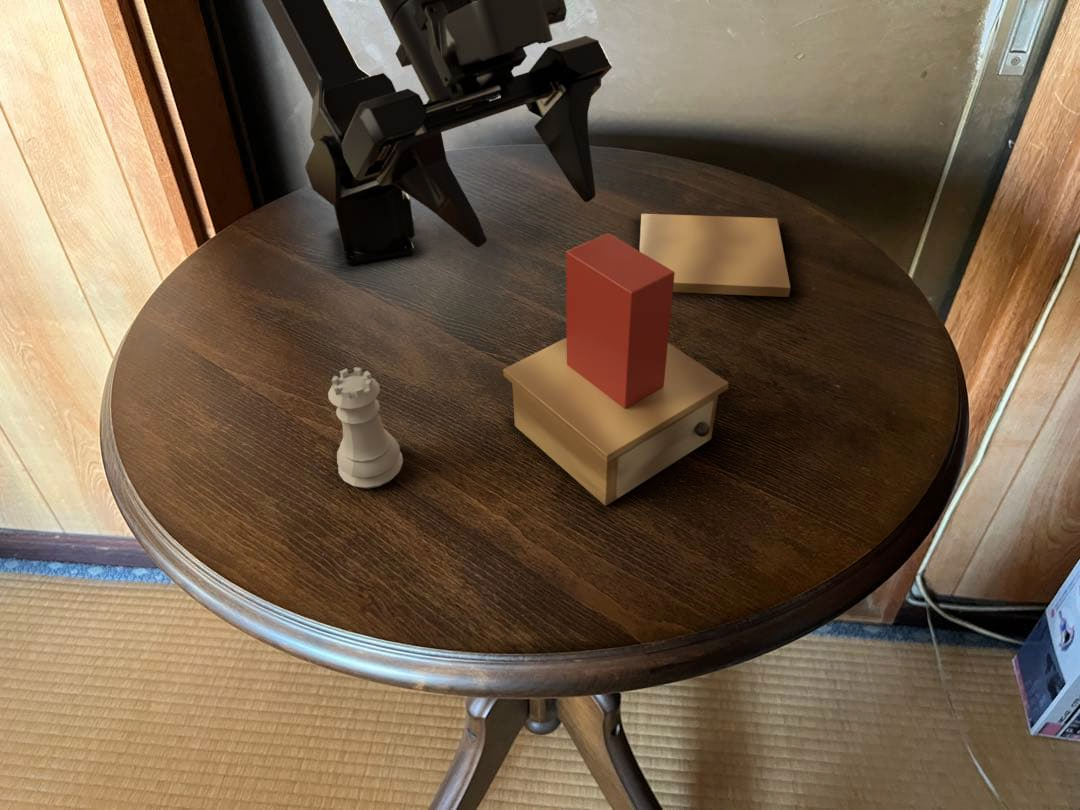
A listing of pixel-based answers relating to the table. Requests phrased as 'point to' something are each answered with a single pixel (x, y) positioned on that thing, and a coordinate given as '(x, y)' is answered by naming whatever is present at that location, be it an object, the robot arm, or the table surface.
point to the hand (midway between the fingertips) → (538, 221)
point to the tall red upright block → (618, 318)
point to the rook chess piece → (363, 432)
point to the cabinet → (612, 419)
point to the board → (718, 253)
